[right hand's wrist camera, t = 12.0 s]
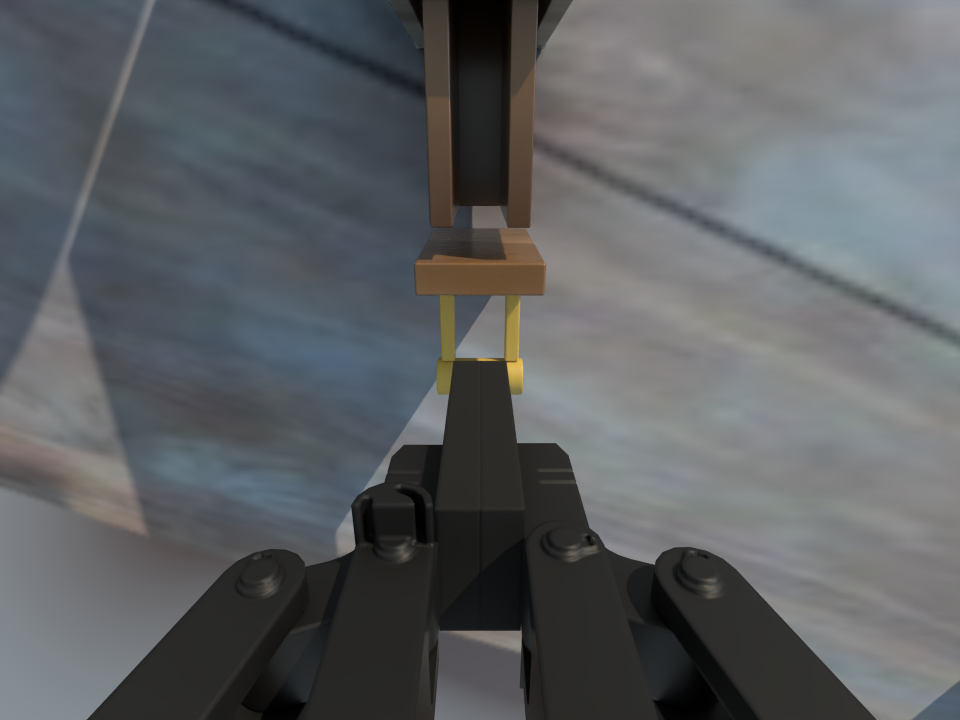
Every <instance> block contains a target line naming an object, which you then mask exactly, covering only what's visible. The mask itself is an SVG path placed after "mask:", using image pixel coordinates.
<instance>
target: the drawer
mask: <svg viewBox="0 0 960 720" xmlns="http://www.w3.org/2000/svg"><path fill="white" fill-rule="evenodd" d="M422 6H423V35H424V65H425V94H426V124H427V153H428V182H429V212H430V226H431V227H445V228H450V227H452V226H453V223H454V220H455V218H456V215H457V212H458V209H459V207H460V206H500V207H501V210H502V213H503V215H504V218H505V221H506V224H507V227H508V228H529V227H530V219H531V191H532V163H533V135H534V108H535V80H536V52H537V24H538V0H422ZM414 274H415V293H416V295H440V323H441V358H438V361H437V392H438V394H449V392H450V384H451V376H452V368H453V361H507V368H508V376H509V384H510V392H511V394H522V391H523V362H522V359H521V358H518V354H519V321H520V295H544V293H545V275H546V264H545V262H544V260H543V258H542V257H541V255H540V253H539V252H538V250H537V248H536V246H535V245H534V243H533V241H532V239H531V238H530V236H529V234H528V232H527V231H526V229H434V231H433V232H432V234H431V236H430V238H429V239H428V241H427V243H426V245H425V246H424V248H423V250H422V252H421V253H420V255H419V257H418V258H417V260H416V262H415V264H414ZM454 295H506V297H505V347H504V358H455V356H456V354H455V298H454Z"/></svg>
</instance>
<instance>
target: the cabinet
mask: <svg viewBox="0 0 960 720" xmlns="http://www.w3.org/2000/svg"><path fill="white" fill-rule="evenodd" d="M388 1H389V3H390V5H391V6H392V8H393V9H394V11H395V13H396V14H397V16H398V17H399V19H400V21H401V22H402V24H403V26H404V27H405V29H406V30H407V32H408V34H409V35H410V37H411V39H412V40H413V42H414V45H415V46H416V48H417V49H419V48H424V35H423V6H422V0H388ZM572 1H573V0H538V24H537V48H541V49H544V47H545V46H546V43H547V41H548V40H549V38H550V36H551V35H552V33H553V31H554V30H555V28H556V27H557V25H558V23H559V22H560V20H561V19H562V17H563V15H564V14H565V12H566V11H567V9H568V7H569V6H570V4H571V3H572Z"/></svg>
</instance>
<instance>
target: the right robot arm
mask: <svg viewBox="0 0 960 720" xmlns="http://www.w3.org/2000/svg"><path fill="white" fill-rule="evenodd" d="M351 508H352V517H353V526H354V535H355V544H356V546H355V550H353V551H352V552H350V553H348V554H346V555H345V556H343V557H340V558H337V559H334V560H331V561H328V562H324V563H320V564H316V565H311V566H307V567H305V563H304V561H303V560H302V559H301V558H300V557H299V555H298V554H295V553H293V552H290V551H288V550H280V549H269V550H265V551H261V552H256V553H253V554H251V555H249V556H247V557H245V558H242V559H240V560H238V561H237V562H236V563H234V564H233V565H232V566H231V567H230V568H228V569H227V570H226V571H225V572H224V573H223V574H222V575H221V576H220V577H219V578H218V579H217V580H216V581H215V582H214V584H213V585H212V586H211V587H210V588H209V589H208V590H207V591H206V592H205V593H204V594H203V595H202V596H201V598H200V599H199V600H198V601H197V602H196V603H195V604H194V605H193V606H192V607H191V608H190V609H189V610H188V612H187V613H186V614H185V615H184V616H183V617H182V618H181V619H180V620H179V621H178V622H177V623H176V624H175V626H174V627H173V628H172V629H171V630H170V631H169V632H168V633H167V634H166V635H165V636H164V637H163V638H162V639H161V641H160V642H159V643H158V644H157V645H156V646H155V647H154V648H153V649H152V650H151V651H150V652H149V653H148V655H147V656H146V657H145V658H144V659H143V660H142V661H141V662H140V663H139V664H138V665H137V666H136V667H135V668H134V670H133V671H132V672H131V673H130V674H129V675H128V676H127V677H126V678H125V679H124V680H123V681H122V682H121V684H120V685H119V686H118V687H117V688H116V689H115V690H114V691H113V692H112V693H111V694H110V695H109V697H108V698H107V699H106V700H105V701H104V702H103V703H102V704H101V705H100V706H99V707H98V708H97V709H96V710H95V712H94V713H93V714H92V715H91V716H90V717H89V718H88V719H87V720H434V714H435V702H436V689H437V676H438V663H439V649H438V632H439V630H440V631H521V629H522V648H521V673H520V688H524V701H525V714H526V720H876V719H875V718H874V716H873V715H872V714H871V713H870V712H869V711H868V710H867V709H866V708H865V707H864V706H863V705H862V704H861V703H860V702H859V700H858V699H857V698H856V697H855V696H854V695H853V694H852V693H851V692H850V691H849V690H848V689H847V688H846V687H845V685H844V684H843V683H842V682H841V681H840V680H839V679H838V678H837V677H836V676H835V675H834V674H833V673H832V672H831V671H830V669H829V668H828V667H827V666H826V665H825V664H824V663H823V662H822V661H821V660H820V659H819V658H818V657H817V656H816V654H815V653H814V652H813V651H812V650H811V649H810V648H809V647H808V646H807V645H806V644H805V643H804V642H803V641H802V640H801V638H800V637H799V636H798V635H797V634H796V633H795V632H794V631H793V630H792V629H791V628H790V627H789V626H788V625H787V623H786V622H785V621H784V620H783V619H782V618H781V617H780V616H779V615H778V614H777V613H776V612H775V611H774V610H773V609H772V607H771V606H770V605H769V604H768V603H767V602H766V601H765V600H764V599H763V598H762V597H761V596H760V595H759V594H758V592H757V591H756V590H755V589H754V588H753V587H752V586H751V585H750V584H749V583H748V582H747V581H746V580H745V579H744V578H743V576H742V575H741V574H740V573H739V572H738V571H737V570H736V569H735V568H734V567H732V566H731V565H730V564H729V563H727V562H726V561H725V560H724V559H722V558H720V557H718V556H716V555H714V554H712V553H710V552H708V551H705V550H700V549H696V548H692V547H677V548H672V549H670V550H667V551H665V552H663V553H662V554H661V555H660V556H659V557H658V559H657V560H656V562H655V565H653V564H649V563H645V562H641V561H636V560H632V559H629V558H626V557H623V556H620V555H618V554H616V553H614V552H612V551H610V550H608V549H607V548H605V546H604V544H603V542H602V540H601V539H600V537H599V535H598V534H596V533H595V532H594V531H592V530H591V529H590V528H589V525H588V521H587V518H586V514H585V511H584V508H583V504H582V501H581V497H580V494H579V490H578V487H577V484H576V480H575V477H574V473H573V472H572V466H571V463H570V459H569V456H568V455H567V454H566V453H565V452H564V451H563V450H562V449H561V448H560V447H559V446H558V445H557V444H556V443H517V440H516V432H515V424H514V416H513V408H512V400H511V392H510V384H509V376H508V368H507V361H453V368H452V376H451V384H450V392H449V400H448V408H447V416H446V424H445V432H444V440H443V445H404V446H402V447H401V448H400V449H399V450H398V451H397V452H396V453H395V454H394V455H393V456H392V458H391V461H390V465H389V468H388V474H387V475H386V479H385V482H384V483H381V484H379V485H376V486H373V487H370V488H368V489H367V490H365V491H364V492H362V493H361V494H359V495H358V496H357V497H356V499H355V500H354V502H353V503H352V505H351Z"/></svg>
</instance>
